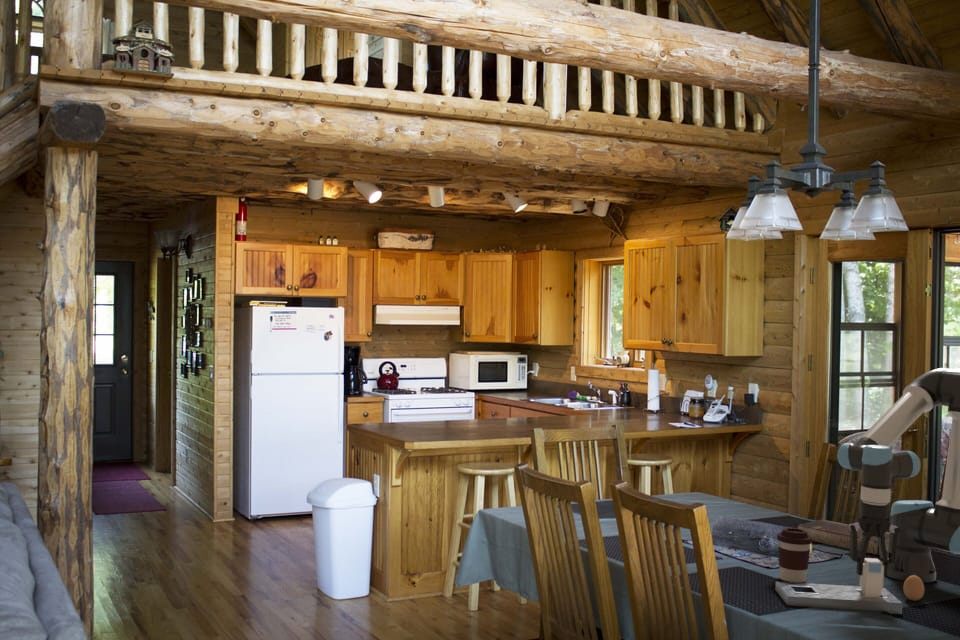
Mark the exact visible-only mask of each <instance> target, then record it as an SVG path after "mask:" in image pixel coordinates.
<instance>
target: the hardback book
mask: <svg viewBox="0 0 960 640" xmlns="http://www.w3.org/2000/svg"><path fill="white" fill-rule="evenodd" d="M848 524H849V523H848ZM848 524H847V523H843V522H842V523H841V522H836V521H832V520H826V519H818V520H814V521H810V522H806V523H800V524H798V525H797V529H802V530H805V531H807V533H808V535H809V536H811V537H812V542H816V543H821V544H825V545H829V546H834V547H838V548H843V549H844V548H845V549H847V550H850V530H849V527H848ZM862 534H863V531H862V529H861V528H860V526H859V527H858V531H857V552H858V551H859V548H860V544H861V540H862ZM884 536H885V545H886V551H887V553H888V549H889V538H890V531H889V532H888V531H886V533H885V534H884ZM867 553H868V554H871V553H872V555H876V554H877V555H876V556H880V552H879V546H878V540H877V537H876V536H873V537H871V539H870V541H869V544H868V548H867V552H866V554H867Z"/></svg>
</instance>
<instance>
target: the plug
mask: <svg viewBox="0 0 960 640" xmlns="http://www.w3.org/2000/svg"><path fill="white" fill-rule="evenodd" d="M864 563H865V564H866V583H865V588H862V587H861V594H862V595H863V596H873V597H881V583H882V562H881V559H878V558H874V557H873V558H871V557H865V559H864Z"/></svg>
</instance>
